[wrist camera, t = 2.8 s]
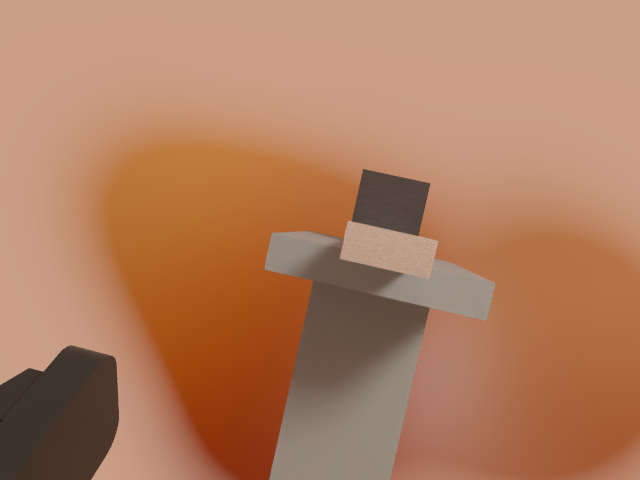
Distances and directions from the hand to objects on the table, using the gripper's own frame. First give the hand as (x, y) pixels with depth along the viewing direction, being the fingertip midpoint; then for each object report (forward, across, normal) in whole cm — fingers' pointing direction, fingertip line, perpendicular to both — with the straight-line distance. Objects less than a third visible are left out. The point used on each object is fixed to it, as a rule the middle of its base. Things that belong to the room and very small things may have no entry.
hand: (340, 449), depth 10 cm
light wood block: (+25, 0, -12) cm, 27 cm away
